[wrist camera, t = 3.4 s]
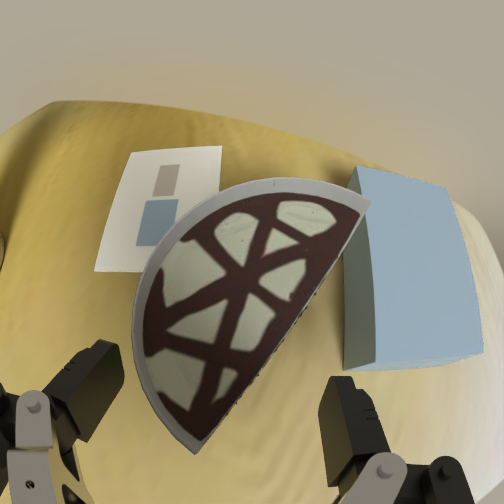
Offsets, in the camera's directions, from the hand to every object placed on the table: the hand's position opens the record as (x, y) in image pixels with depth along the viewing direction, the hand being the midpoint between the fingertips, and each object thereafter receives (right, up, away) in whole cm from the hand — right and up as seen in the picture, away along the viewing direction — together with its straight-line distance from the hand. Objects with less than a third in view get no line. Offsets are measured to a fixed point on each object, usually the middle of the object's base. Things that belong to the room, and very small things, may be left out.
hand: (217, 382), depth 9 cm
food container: (0, 0, +9) cm, 9 cm away
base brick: (+13, +2, +11) cm, 17 cm away
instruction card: (-7, +9, +14) cm, 18 cm away
